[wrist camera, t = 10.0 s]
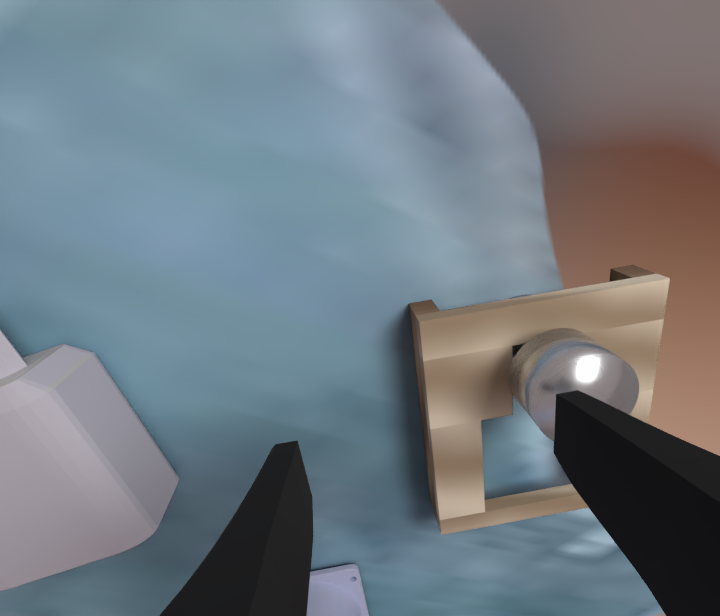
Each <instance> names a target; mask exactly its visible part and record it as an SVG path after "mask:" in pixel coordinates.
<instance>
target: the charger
mask: <svg viewBox="0 0 720 616" xmlns="http://www.w3.org/2000/svg"><path fill="white" fill-rule="evenodd" d="M178 482H179V477H178V476H177V474H176V473H175V471H174V470H173V468H172V467H171V465H170V464H169V462H168V461H167V459H166V458H165V457H164V455H163V454H162V452H161V451H160V449H159V448H158V446H157V445H156V443H155V442H154V440H153V439H152V437H151V436H150V434H149V433H148V431H147V430H146V428H145V427H144V425H143V424H142V422H141V421H140V419H139V418H138V417H137V415H136V414H135V412H134V411H133V409H132V408H131V406H130V405H129V403H128V402H127V400H126V399H125V397H124V396H123V394H122V393H121V391H120V390H119V388H118V387H117V385H116V384H115V382H114V381H113V379H112V378H111V377H110V375H109V374H108V372H107V371H106V369H105V368H104V366H103V365H102V363H101V362H100V360H99V359H98V357H97V356H96V354H95V353H93V352H90V351H87V350H83V349H80V348H76V347H73V346H69V345H66V344H61V345H58V346H55V347H52V348H49V349H46V350H43V351H40V352H37V353H35V354H32V355H29V356H26V357H23V358H22V357H21V355H20V354H19V353H18V351H17V350H16V349H15V347H14V346H13V345H12V343H11V342H10V341H9V339H8V338H7V337H6V336H5V334H4V333H3V332H2V330H1V329H0V591H2V590H6V589H10V588H13V587H16V586H20V585H23V584H26V583H29V582H32V581H35V580H38V579H41V578H44V577H47V576H50V575H54V574H57V573H60V572H63V571H66V570H69V569H72V568H75V567H78V566H81V565H85V564H88V563H91V562H94V561H97V560H100V559H103V558H106V557H109V556H112V555H115V554H118V553H121V552H124V551H126V550H129V549H131V548H133V547H135V546H137V545H139V544H140V543H142V542H143V541H145V540H146V539H148V538H149V537H150V536H151V535H152V534H153V533H155V531H156V530H157V528H158V527H159V525H160V522H161V520H162V518H163V516H164V513H165V511H166V509H167V507H168V504H169V502H170V500H171V498H172V495H173V493H174V491H175V489H176V486H177V484H178Z"/></svg>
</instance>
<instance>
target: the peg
mask: <svg viewBox="0 0 720 616" xmlns="http://www.w3.org/2000/svg"><path fill="white" fill-rule="evenodd" d="M525 296H530V295H521V296H517V297H513V298H519V297H525ZM513 298H510V299H513ZM509 386H510V389H511V391H512V393H513V395H514V396H515V398H516V399H517V400H518V402H519V403H520V404H521V405H522V407H523V408H524V409H525V410H526V412H527V413H528V414H529V416H530V417H531V418H532V419H533V421H534V422H535V423H536V424H537V426H538V427H539V428H540V430H541V431H542V432H543V433H544V434H545V435H546V436H547V437H548V438H550V439H551V440H553V441H554V433H555V408H556V394H559V393H565V392H570V391H576V390H578V391H581V392H583V393H585V394H588V395H590V396H592V397H594V398H596V399H598V400H600V401H602V402H604V403H606V404H609V405H611V406H613V407H615V408H617V409H619V410H621V411H623V412H625V413H627V414H629V415H630V414H631V412H632V411H633V409H634V407H635V405H636V402H637V399H638V395H639V381H638V377H637V375H636V373H635V371H634V369H633V368H632V367H631V366H630V365H629V364H628V363H627V362H625V361H624V360H623V359H621V358H620V357H618V356H617V355H615V354H614V353H612V352H611V351H610V350H608V349H607V348H605V347H604V346H602V345H601V344H599V343H598V342H597V341H595V340H594V339H592V338H591V337H589V336H588V335H586V334H585V333H583V332H581V331H579V330H576V329H571V328H557V329H552V330H548V331H545V332H543V333H540V334H538V335H536V336H535V337H533V338H532V339H530V340H529V341H528V342H527V343H524V344H519V345H513V346H512V363H511V366H510V369H509Z"/></svg>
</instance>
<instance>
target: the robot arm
mask: <svg viewBox="0 0 720 616" xmlns="http://www.w3.org/2000/svg"><path fill="white" fill-rule="evenodd" d="M554 454H555V456H556V457H557V459H558V461H559V463H560V465H561V466H562V468H563V470H564V472H565V473H566V475H567V477H568V478H569V480H570V482H571V483H572V485H573V487H574V488H575V489H576V491H577V492H578V494H579V495H580V496H581V498H582V499H583V500H584V502H585V503H586V504H587V506H588V507H589V508H590V510H591V511H592V512H593V514H594V515H595V516H596V518H597V519H598V520H599V522H600V523H601V524H602V526H603V527H604V528H605V530H606V531H607V532H608V533H609V535H610V536H611V537H612V539H613V540H614V541H615V543H616V544H617V545H618V547H619V548H620V549H621V551H622V552H623V553H624V555H625V556H626V557H627V558H628V560H629V561H630V562H631V564H632V565H633V566H634V568H635V569H636V571H637V572H638V573H639V575H640V576H641V578H642V579H643V580H644V582H645V583H646V585H647V586H648V588H649V589H650V591H651V592H652V594H653V595H654V597H655V599H656V600H657V602H658V603H659V605H660V606H661V608H662V610H663V611H664V613H665V614H666V616H720V456H718V455H716V454H713V453H711V452H709V451H707V450H704V449H702V448H700V447H697V446H695V445H693V444H690V443H688V442H686V441H684V440H681V439H679V438H677V437H675V436H673V435H670V434H668V433H666V432H664V431H662V430H660V429H657V428H656V427H654V426H651V425H649V424H647V423H645V422H643V421H641V420H639V419H637V418H635V417H633V416H631V415H629V414H627V413H625V412H623V411H621V410H619V409H617V408H615V407H613V406H611V405H609V404H606V403H604V402H602V401H600V400H598V399H596V398H594V397H592V396H590V395H588V394H585V393H583V392H581V391H578V390H576V391H570V392H565V393H559V394H556V408H555V433H554ZM312 543H313V509H312V494H311V491H310V487H309V483H308V479H307V475H306V472H305V468H304V464H303V460H302V456H301V452H300V449H299V445H298V441H292V442H287V443H281V444H276V445H275V446H274V447H273V448H272V450H271V452H270V454H269V455H268V457H267V459H266V461H265V463H264V465H263V467H262V469H261V470H260V472H259V474H258V476H257V478H256V479H255V481H254V483H253V485H252V487H251V488H250V490H249V492H248V493H247V495H246V497H245V498H244V500H243V502H242V503H241V505H240V507H239V508H238V510H237V512H236V513H235V515H234V516H233V518H232V520H231V521H230V523H229V524H228V526H227V527H226V529H225V530H224V532H223V533H222V535H221V536H220V538H219V539H218V541H217V542H216V544H215V545H214V547H213V548H212V549H211V551H210V552H209V554H208V555H207V556H206V558H205V559H204V561H203V562H202V563H201V565H200V566H199V567H198V569H197V570H196V571H195V573H194V574H193V575H192V576H191V578H190V579H189V580H188V582H187V583H186V584H185V586H184V587H183V588H182V589H181V591H180V592H179V593H178V594H177V595H176V597H175V598H174V599H173V600H172V601H171V603H170V604H169V605H168V606H167V607H166V609H165V610H164V611H163V612H162V613H161V614H160V616H369V613H368V608H367V604H366V599H365V595H364V590H363V586H362V581H361V577H360V572H359V568H358V566H357V565H355V564H348V565H343V566H338V567H332V568H327V569H322V570H316V571H311V572H310V569H311V556H312Z"/></svg>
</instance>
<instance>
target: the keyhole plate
mask: <svg viewBox="0 0 720 616" xmlns="http://www.w3.org/2000/svg"><path fill="white" fill-rule="evenodd" d="M669 281H670V279H669V278H667V277H665V276H661V275H659V274H656V273H654V272H651V271H648V270H645V269H642V268H640V267H637V266H634V265H631V266H625V267H619V268H613V269H611V273H610V282H605V283H600V284H594V285H588V286H583V287H577V288H571V289H565V290H559V291H553V292H548V293H542V294H536V295H530V296H525V297H519V298H513V299H507V300H501V301H496V302H490V303H484V304H478V305H473V306H467V307H461V308H455V309H450V310H444V311H439V309H438V308H437V306H436V305H435V304H434V302H433V301H432V300H427V301H422V302H416V303H410V304H409V309H410V318H411V327H412V336H413V345H414V354H415V363H416V371H417V380H418V389H419V398H420V407H421V416H422V425H423V434H424V443H425V452H426V461H427V469H428V478H429V487H430V496H431V503H432V506H433V510H434V513H435V516H436V519H437V523H438V526H439V529H440V532H441V535H443V534H449V533H454V532H459V531H465V530H470V529H475V528H481V527H486V526H491V525H497V524H502V523H507V522H513V521H518V520H524V519H529V518H534V517H540V516H545V515H550V514H556V513H561V512H566V511H572V510H577V509H582V508H588V506H587V504H586V503H585V502H584V500H583V499H582V498H581V496H580V495H579V494H578V492H577V491H576V489H575V488H574V487H573V485H572V484H568V485H563V486H557V487H552V488H547V489H541V490H536V491H530V492H525V493H520V494H514V495H509V496H503V497H498V498H493V499H487V500H485V499H484V476H483V453H482V431H481V420H486V419H491V418H497V417H502V416H508V415H513V393H512V391H511V389H510V386H509V369H510V366H511V363H512V346H513V345H519V344H524V343H527V342H528V341H529V340H530V339H532V338H533V337H535V336H536V335H538V334H540V333H543V332H545V331H548V330H552V329H557V328H571V329H576V330H579V331H581V332H583V333H585V334H586V335H588V336H589V337H591V338H592V339H594V340H595V341H597V342H598V343H599V344H601V345H602V346H604V347H605V348H607V349H608V350H610V351H611V352H612V353H614V354H615V355H617V356H618V357H620V358H621V359H623V360H624V361H625V362H627V363H628V364H629V365H630V366H631V367H632V368H633V369H634V371H635V373H636V375H637V377H638V381H639V395H638V399H637V402H636V405H635V407H634V409H633V411H632V412H631V414H630V415H631V416H633V417H635V418H637V419H639V420H641V421H643V422H645V423H647V424H648V421H649V415H650V408H651V401H652V394H653V387H654V381H655V374H656V368H657V361H658V354H659V347H660V341H661V334H662V327H663V321H664V314H665V307H666V300H667V294H668V287H669Z"/></svg>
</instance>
